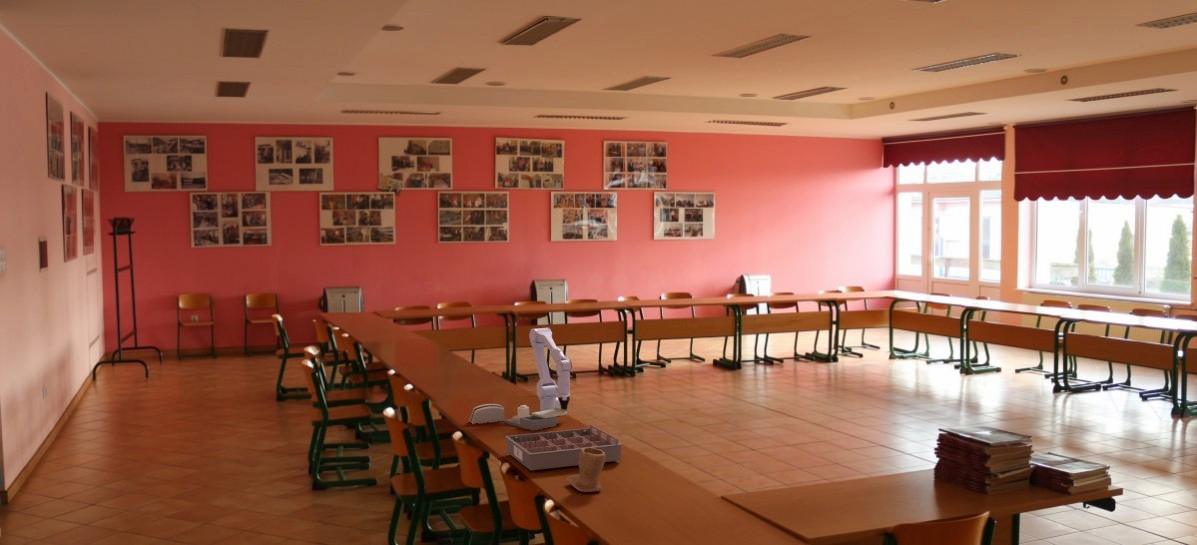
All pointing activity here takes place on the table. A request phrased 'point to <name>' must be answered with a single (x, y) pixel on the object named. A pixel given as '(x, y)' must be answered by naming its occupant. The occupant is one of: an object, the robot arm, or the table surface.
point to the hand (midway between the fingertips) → (564, 412)
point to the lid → (550, 413)
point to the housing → (532, 422)
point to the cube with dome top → (523, 411)
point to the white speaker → (487, 413)
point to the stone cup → (588, 470)
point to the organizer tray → (561, 447)
